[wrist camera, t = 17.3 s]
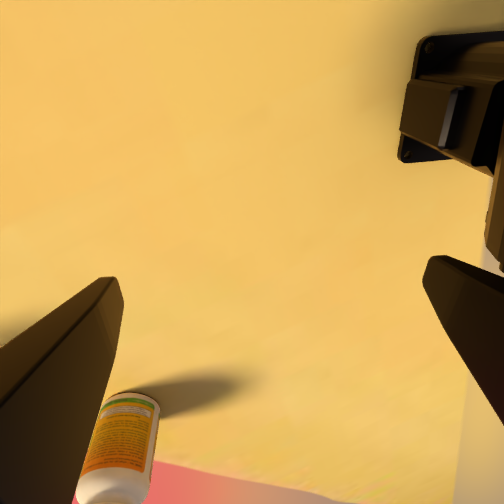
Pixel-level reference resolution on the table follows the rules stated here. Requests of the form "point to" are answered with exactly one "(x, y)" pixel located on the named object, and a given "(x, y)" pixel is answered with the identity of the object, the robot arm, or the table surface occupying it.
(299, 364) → the table surface
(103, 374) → the robot arm
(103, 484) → the supplement bottle
